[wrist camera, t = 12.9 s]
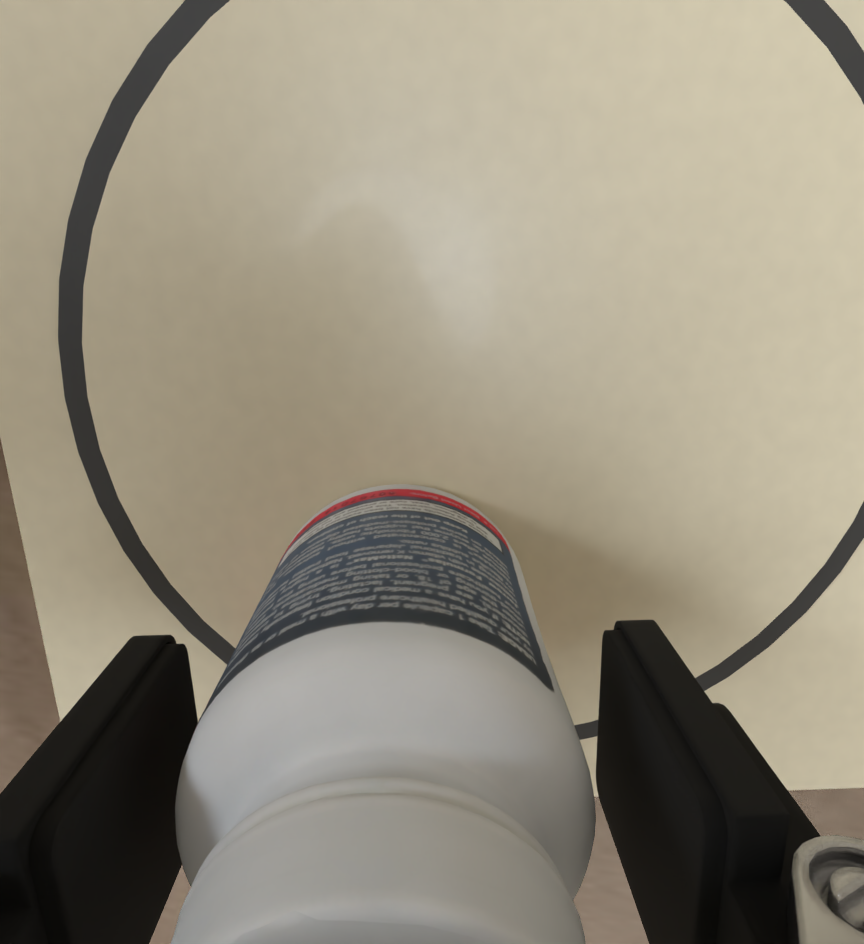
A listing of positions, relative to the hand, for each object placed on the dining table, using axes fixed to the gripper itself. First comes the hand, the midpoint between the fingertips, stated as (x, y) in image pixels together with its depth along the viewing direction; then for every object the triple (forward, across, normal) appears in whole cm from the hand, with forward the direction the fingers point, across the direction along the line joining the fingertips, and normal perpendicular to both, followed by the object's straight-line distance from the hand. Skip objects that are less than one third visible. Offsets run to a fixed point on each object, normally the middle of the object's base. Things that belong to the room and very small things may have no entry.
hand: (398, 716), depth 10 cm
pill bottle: (+4, 0, 0) cm, 4 cm away
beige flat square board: (+5, -2, -4) cm, 7 cm away
